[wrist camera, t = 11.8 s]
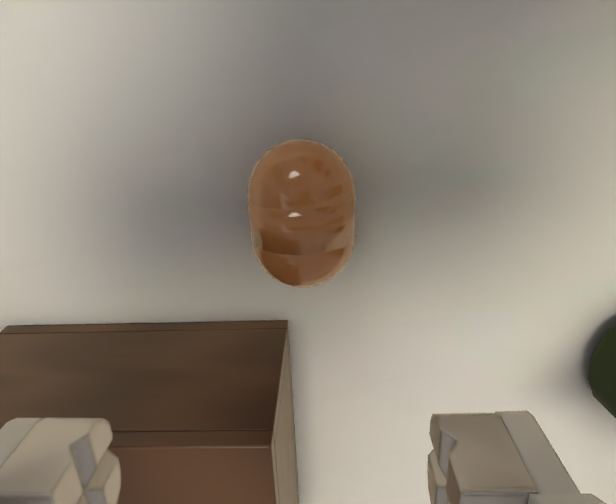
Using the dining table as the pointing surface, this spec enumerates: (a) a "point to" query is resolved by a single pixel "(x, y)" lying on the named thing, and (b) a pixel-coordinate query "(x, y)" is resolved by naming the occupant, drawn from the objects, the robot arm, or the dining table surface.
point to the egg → (301, 213)
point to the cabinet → (168, 403)
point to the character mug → (605, 372)
